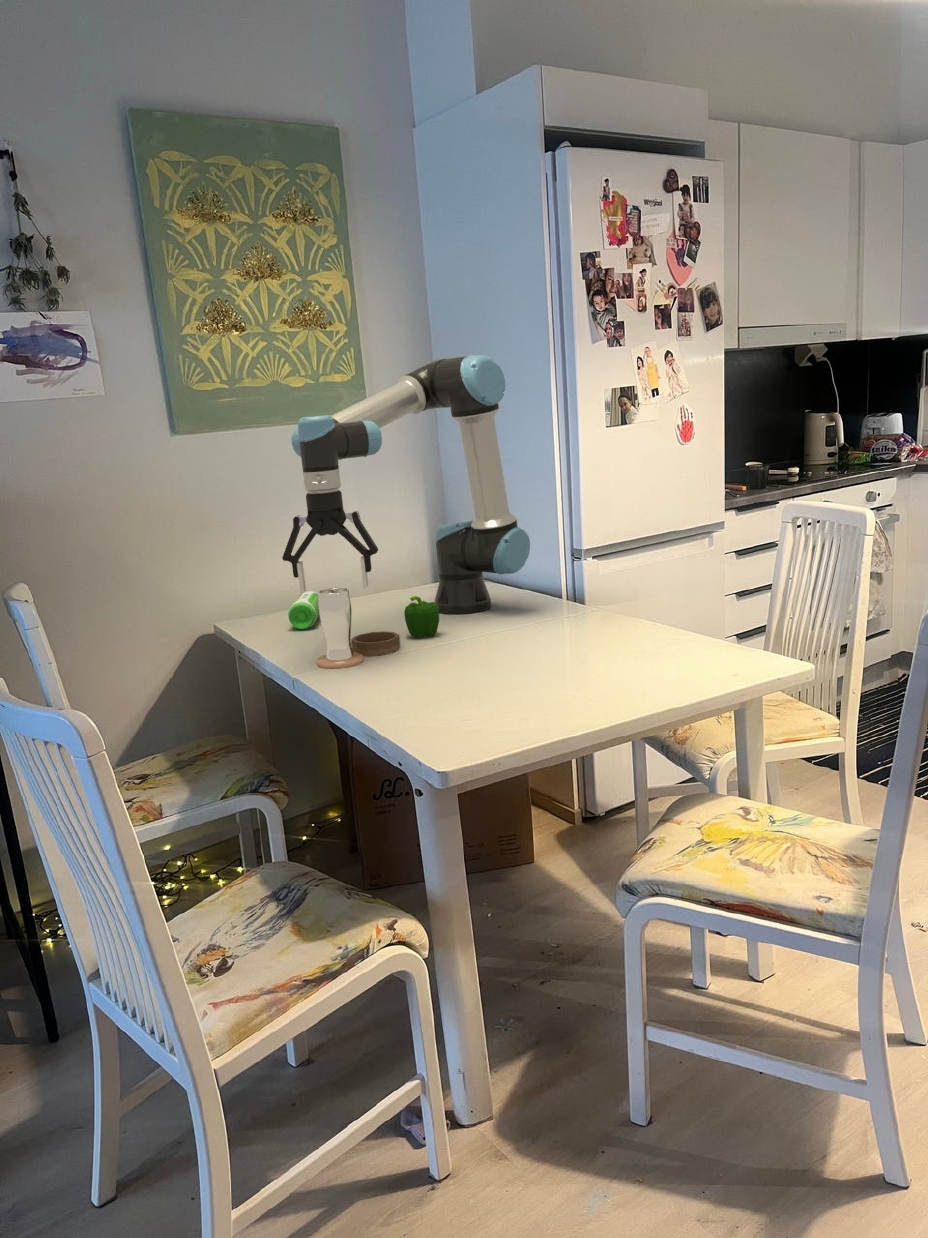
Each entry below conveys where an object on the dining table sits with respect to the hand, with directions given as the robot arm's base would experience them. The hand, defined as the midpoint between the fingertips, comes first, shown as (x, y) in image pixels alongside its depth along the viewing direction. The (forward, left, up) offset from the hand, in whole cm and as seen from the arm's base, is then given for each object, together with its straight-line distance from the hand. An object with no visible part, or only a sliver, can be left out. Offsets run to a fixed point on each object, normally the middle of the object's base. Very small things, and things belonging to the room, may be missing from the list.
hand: (334, 589), depth 206 cm
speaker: (+15, -42, -17) cm, 47 cm away
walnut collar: (-7, -9, -16) cm, 19 cm away
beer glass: (0, 0, -15) cm, 15 cm away
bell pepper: (-17, -20, -16) cm, 31 cm away
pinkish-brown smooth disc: (0, 0, -16) cm, 16 cm away
